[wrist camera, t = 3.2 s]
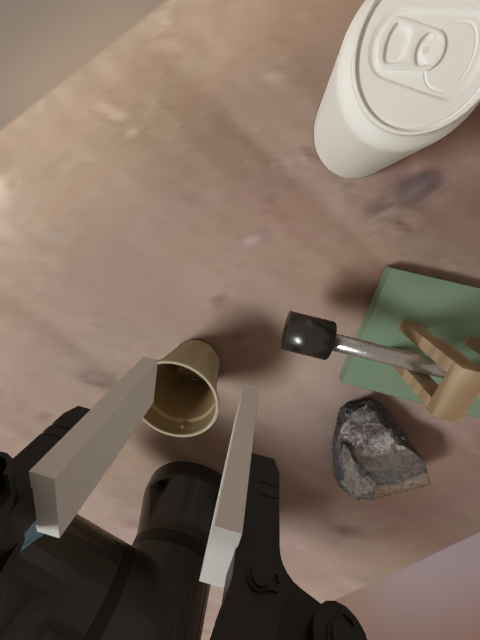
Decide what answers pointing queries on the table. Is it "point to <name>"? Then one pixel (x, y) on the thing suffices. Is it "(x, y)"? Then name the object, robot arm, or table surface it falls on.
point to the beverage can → (399, 83)
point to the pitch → (420, 307)
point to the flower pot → (185, 391)
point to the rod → (347, 345)
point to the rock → (374, 453)
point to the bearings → (457, 383)
